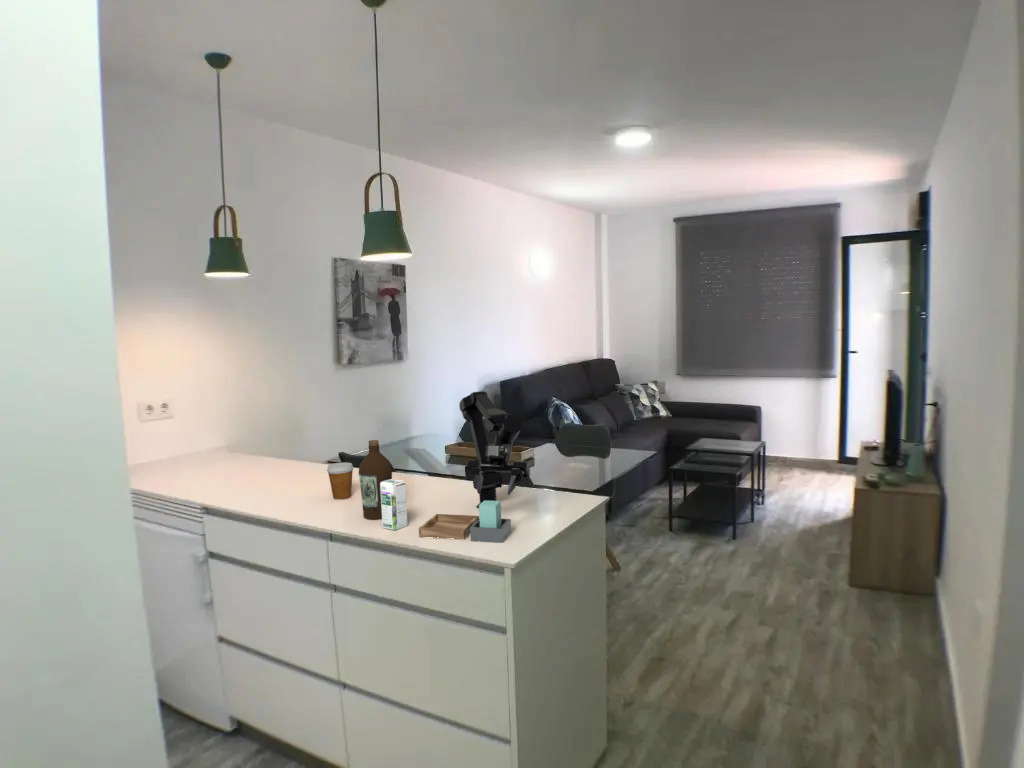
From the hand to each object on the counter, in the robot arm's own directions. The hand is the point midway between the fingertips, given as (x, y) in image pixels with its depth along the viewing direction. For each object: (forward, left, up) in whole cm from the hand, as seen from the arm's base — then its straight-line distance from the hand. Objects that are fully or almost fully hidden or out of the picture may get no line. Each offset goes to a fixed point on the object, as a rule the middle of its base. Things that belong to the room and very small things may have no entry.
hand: (493, 493), depth 197 cm
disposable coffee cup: (-30, -68, -12) cm, 75 cm away
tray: (0, -14, -12) cm, 18 cm away
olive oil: (-11, -44, -12) cm, 47 cm away
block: (+3, 0, -12) cm, 12 cm away
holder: (+3, 0, -12) cm, 12 cm away
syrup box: (-1, -33, -12) cm, 35 cm away
